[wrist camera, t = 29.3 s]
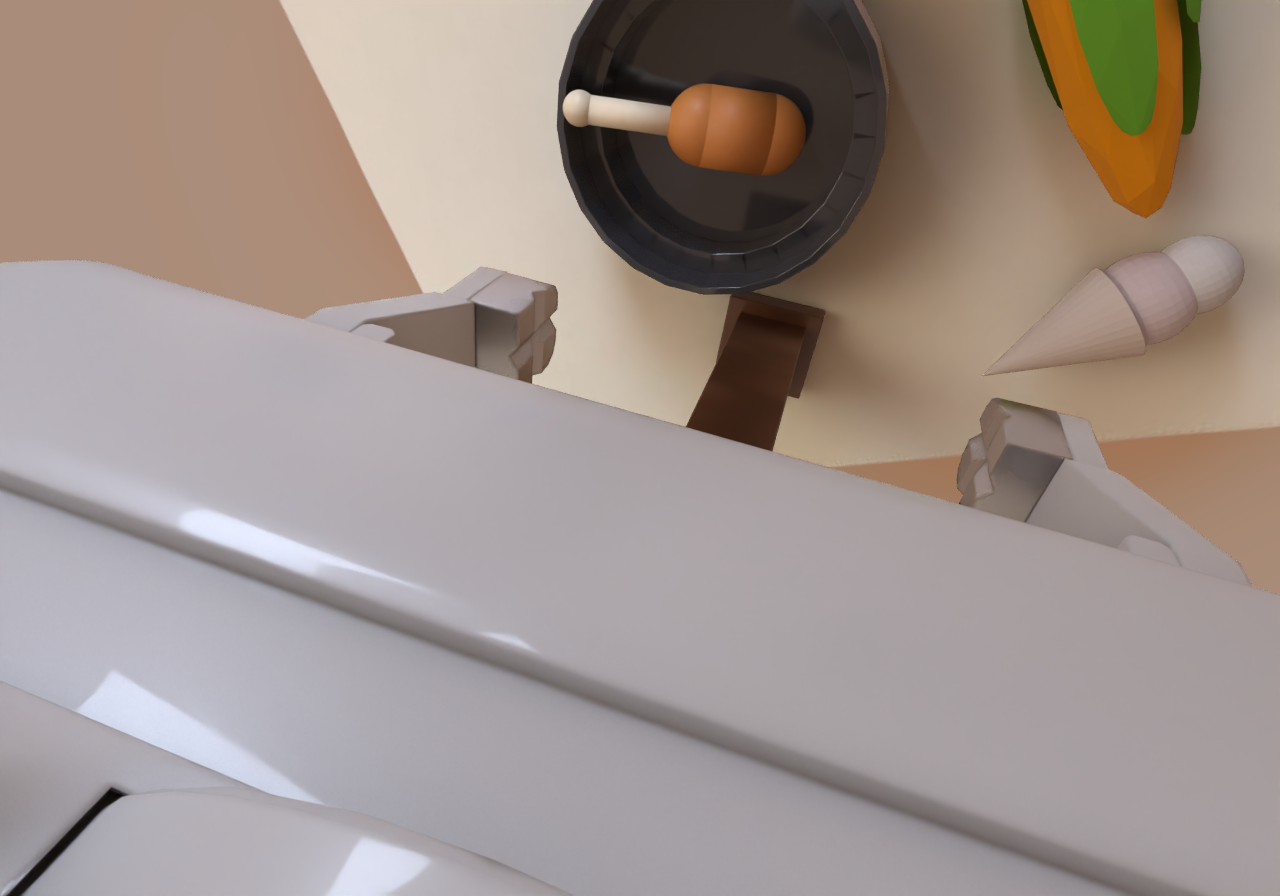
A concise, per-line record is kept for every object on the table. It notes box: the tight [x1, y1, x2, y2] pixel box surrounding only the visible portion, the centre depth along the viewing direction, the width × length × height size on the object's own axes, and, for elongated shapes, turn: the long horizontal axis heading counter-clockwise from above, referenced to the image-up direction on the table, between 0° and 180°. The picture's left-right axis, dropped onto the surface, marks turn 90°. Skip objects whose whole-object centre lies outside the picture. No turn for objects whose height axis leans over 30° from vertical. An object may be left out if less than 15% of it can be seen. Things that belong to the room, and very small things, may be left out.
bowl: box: [557, 0, 889, 295], centre depth 45 cm, size 20×20×6 cm
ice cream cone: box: [982, 236, 1244, 376], centre depth 44 cm, size 6×6×15 cm
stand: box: [686, 292, 825, 451], centre depth 45 cm, size 10×8×27 cm
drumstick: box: [563, 84, 806, 176], centre depth 44 cm, size 15×5×5 cm, turn 82°
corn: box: [1022, 0, 1201, 218], centre depth 36 cm, size 7×8×20 cm
